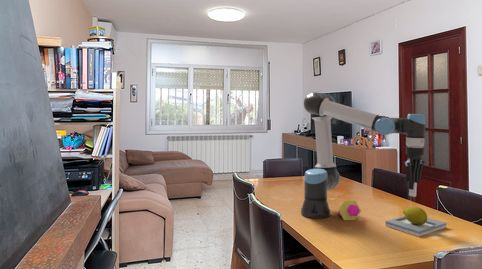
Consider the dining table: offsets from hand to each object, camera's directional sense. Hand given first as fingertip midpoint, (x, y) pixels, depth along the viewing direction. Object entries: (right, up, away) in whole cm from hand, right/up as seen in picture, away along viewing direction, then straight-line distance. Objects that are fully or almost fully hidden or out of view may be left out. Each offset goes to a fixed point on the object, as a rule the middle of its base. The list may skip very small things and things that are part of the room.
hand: (412, 195), depth 152 cm
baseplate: (0, -14, -2) cm, 14 cm away
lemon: (0, -13, -2) cm, 13 cm away
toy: (-27, -14, +10) cm, 32 cm away
